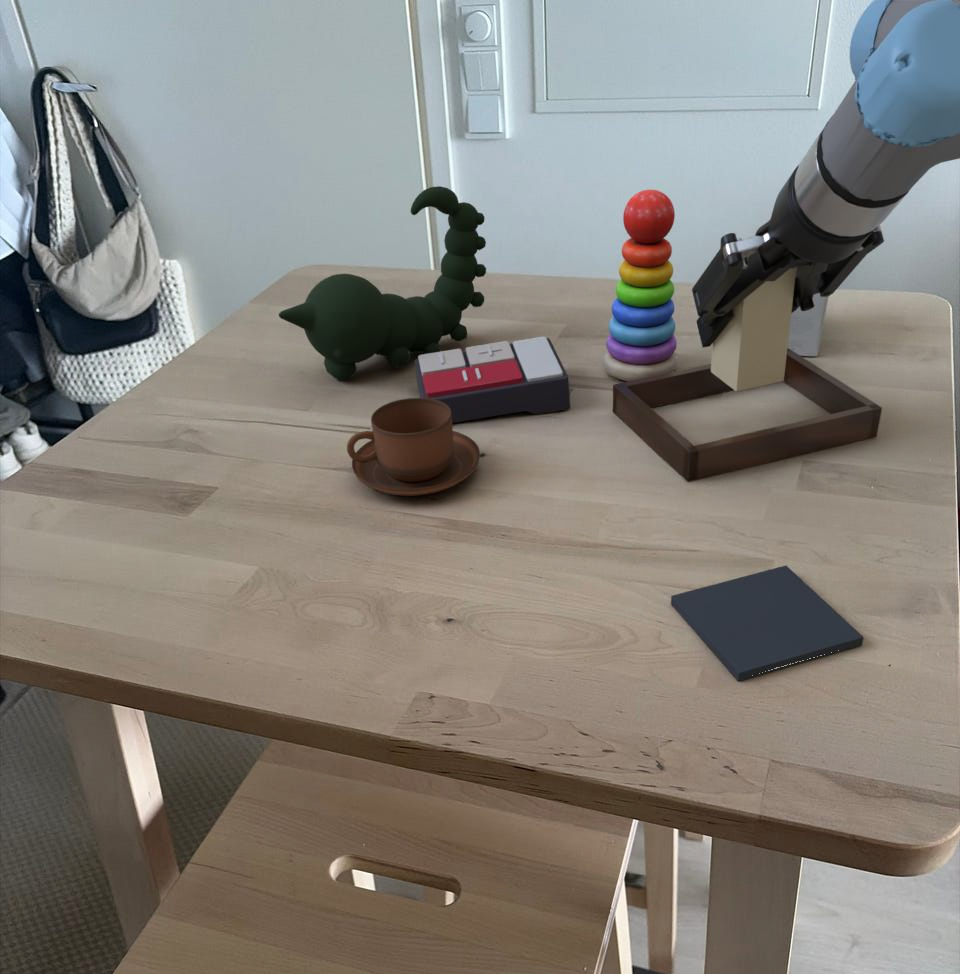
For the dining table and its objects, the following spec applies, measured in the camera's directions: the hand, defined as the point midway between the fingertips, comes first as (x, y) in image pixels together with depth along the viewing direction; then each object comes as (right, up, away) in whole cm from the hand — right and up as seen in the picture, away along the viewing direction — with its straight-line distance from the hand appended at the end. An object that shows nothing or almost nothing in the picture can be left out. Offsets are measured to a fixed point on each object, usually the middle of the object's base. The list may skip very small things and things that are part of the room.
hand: (733, 328), depth 99 cm
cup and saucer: (-30, -15, -2) cm, 34 cm away
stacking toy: (-7, -1, +14) cm, 15 cm away
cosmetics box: (+11, +4, +18) cm, 22 cm away
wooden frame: (+1, -9, +2) cm, 9 cm away
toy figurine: (-34, +2, +20) cm, 40 cm away
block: (+1, -5, -1) cm, 5 cm away
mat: (-3, -29, -23) cm, 37 cm away
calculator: (-23, -4, +11) cm, 26 cm away
